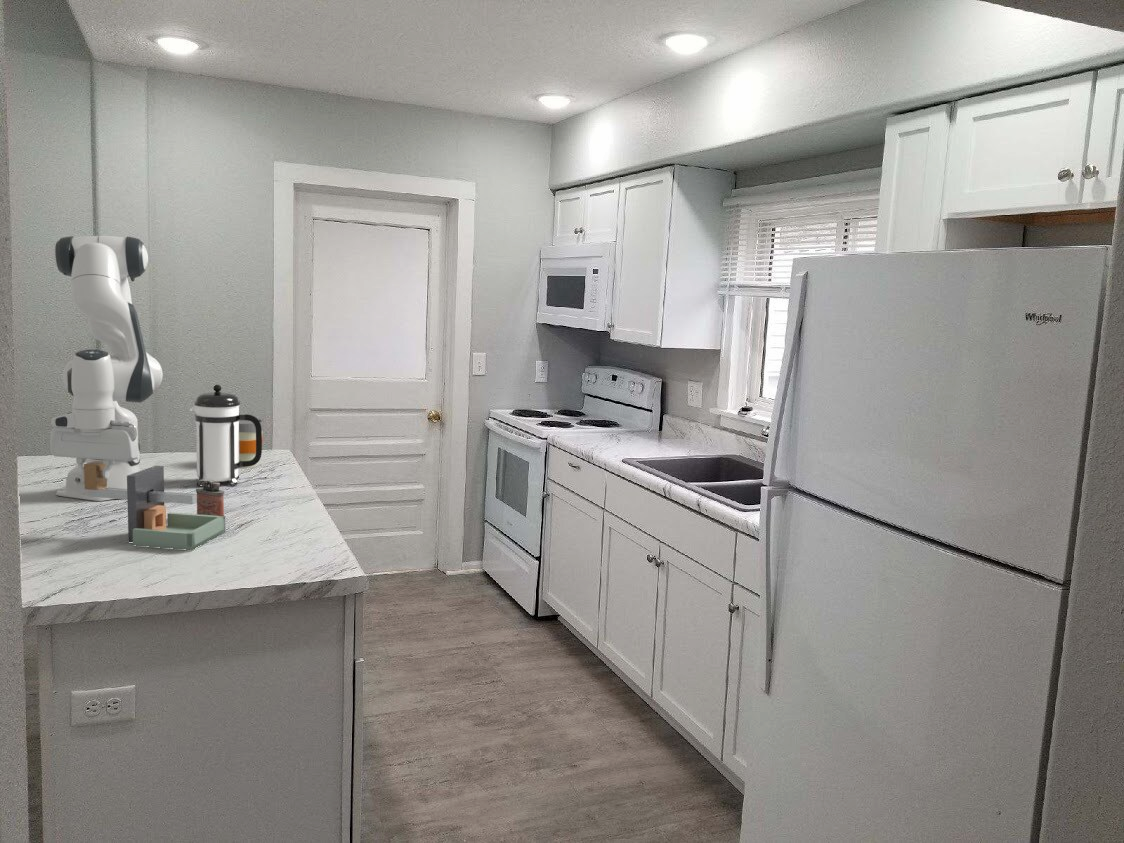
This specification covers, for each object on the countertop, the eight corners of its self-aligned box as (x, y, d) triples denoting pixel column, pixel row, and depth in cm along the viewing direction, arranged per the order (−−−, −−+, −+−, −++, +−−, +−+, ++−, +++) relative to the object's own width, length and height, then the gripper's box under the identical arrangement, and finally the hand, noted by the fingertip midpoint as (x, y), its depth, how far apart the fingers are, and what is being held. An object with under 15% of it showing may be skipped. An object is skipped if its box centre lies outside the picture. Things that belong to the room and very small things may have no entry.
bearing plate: (128, 543, 202) (126, 475, 200) (157, 529, 214) (155, 465, 212) (136, 543, 202) (135, 476, 200) (164, 530, 214) (163, 466, 212)
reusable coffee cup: (256, 470, 285) (255, 424, 283) (217, 468, 285) (217, 422, 283) (269, 462, 297) (269, 419, 295) (232, 460, 298) (232, 417, 295)
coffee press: (215, 491, 255) (214, 389, 250) (181, 482, 263) (179, 383, 259) (263, 481, 269) (263, 385, 265) (230, 473, 278) (229, 380, 273)
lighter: (227, 518, 227) (227, 481, 225) (218, 521, 224) (218, 483, 222) (202, 514, 229) (202, 477, 228) (193, 517, 226) (192, 480, 225)
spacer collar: (144, 536, 205) (143, 511, 204) (158, 529, 211) (157, 505, 210) (152, 536, 205) (151, 511, 204) (166, 529, 211) (165, 505, 210)
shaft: (85, 497, 206) (83, 464, 205) (95, 493, 210) (94, 461, 209) (190, 505, 204) (189, 471, 203) (199, 501, 208) (198, 468, 207)
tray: (133, 546, 200) (132, 529, 200) (170, 528, 216) (170, 512, 215) (192, 550, 199) (192, 534, 198) (225, 532, 215) (225, 516, 214)
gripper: (143, 420, 208) (144, 477, 210) (62, 415, 209) (64, 471, 211) (128, 424, 201) (129, 482, 203) (44, 418, 203) (46, 476, 205)
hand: (95, 477), depth 207 cm, fingers closed on shaft, 3 cm apart
